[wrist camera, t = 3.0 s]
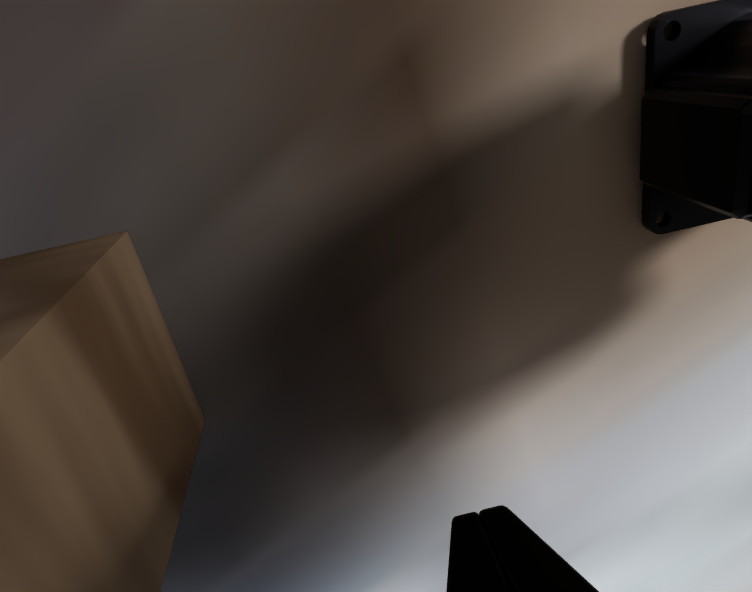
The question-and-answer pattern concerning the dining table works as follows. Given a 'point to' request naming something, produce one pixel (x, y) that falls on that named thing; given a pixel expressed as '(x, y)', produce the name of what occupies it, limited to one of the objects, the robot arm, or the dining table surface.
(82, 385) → the walnut block
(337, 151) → the dining table surface
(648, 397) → the dining table surface
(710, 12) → the robot arm
